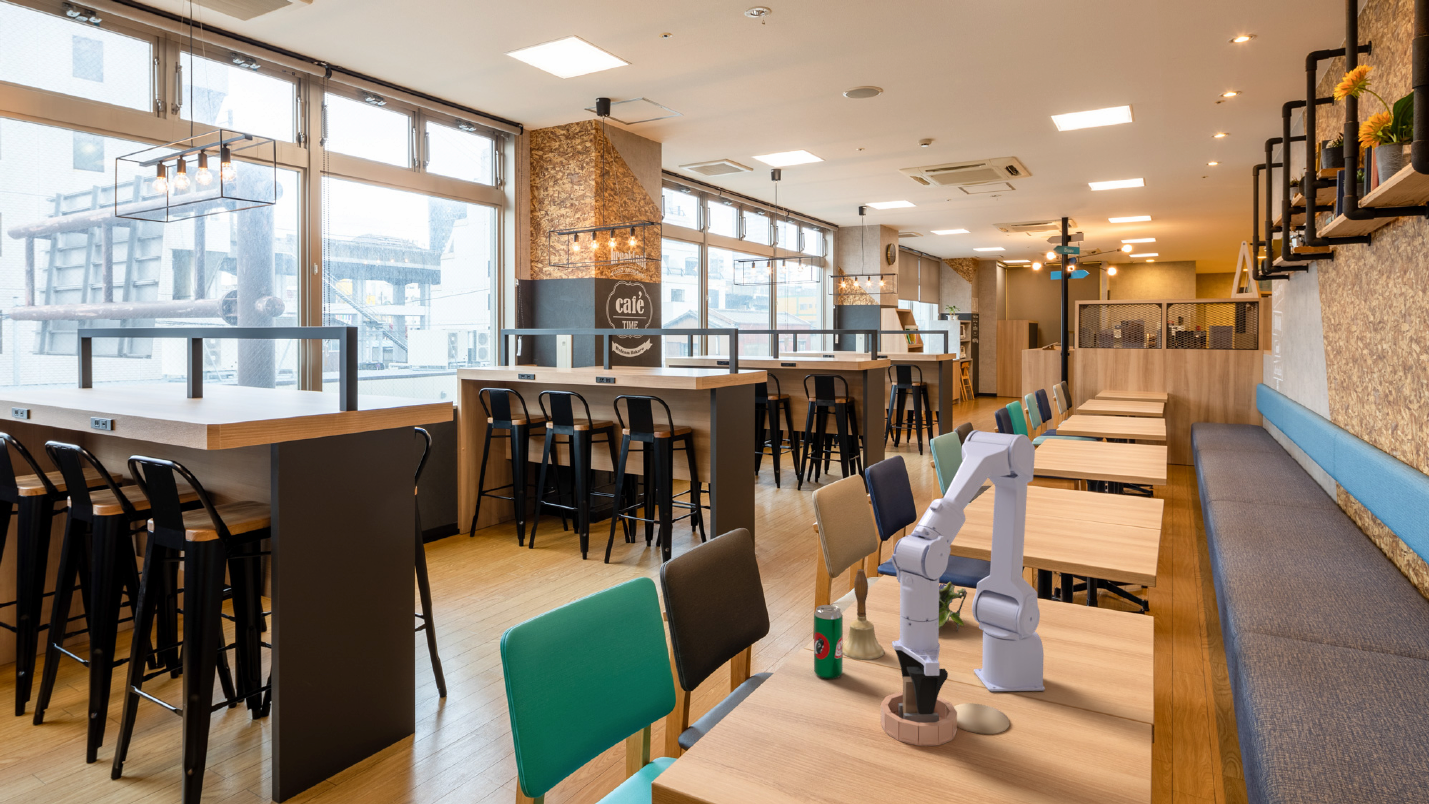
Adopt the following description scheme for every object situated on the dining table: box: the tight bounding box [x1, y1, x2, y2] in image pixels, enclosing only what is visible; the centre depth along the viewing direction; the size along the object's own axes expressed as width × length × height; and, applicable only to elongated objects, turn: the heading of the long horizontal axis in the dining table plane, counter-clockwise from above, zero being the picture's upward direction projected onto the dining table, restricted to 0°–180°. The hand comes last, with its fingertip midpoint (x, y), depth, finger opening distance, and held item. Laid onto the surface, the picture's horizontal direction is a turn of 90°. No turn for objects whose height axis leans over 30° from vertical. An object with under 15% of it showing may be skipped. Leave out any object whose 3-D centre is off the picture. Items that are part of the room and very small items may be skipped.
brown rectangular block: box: [902, 677, 935, 718], centre depth 118 cm, size 4×2×7 cm, turn 90°
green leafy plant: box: [939, 581, 968, 632], centre depth 158 cm, size 11×11×12 cm
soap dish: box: [880, 691, 958, 747], centre depth 118 cm, size 11×11×3 cm
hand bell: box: [843, 568, 885, 661], centre depth 146 cm, size 8×8×16 cm
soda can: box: [813, 604, 844, 680], centre depth 136 cm, size 5×5×12 cm
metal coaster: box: [953, 702, 1010, 735], centre depth 120 cm, size 9×9×1 cm
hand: (918, 701), depth 118 cm, fingers open, 7 cm apart
